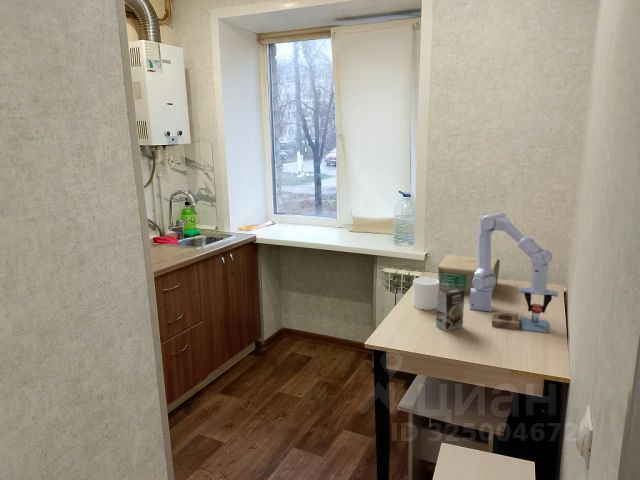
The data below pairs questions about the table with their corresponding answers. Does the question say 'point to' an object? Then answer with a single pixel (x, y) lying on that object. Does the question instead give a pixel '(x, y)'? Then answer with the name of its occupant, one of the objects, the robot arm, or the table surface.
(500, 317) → the eye block
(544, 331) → the mat
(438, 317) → the coffee box
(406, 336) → the table surface
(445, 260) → the paper package
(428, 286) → the cup
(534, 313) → the red mushroom head
